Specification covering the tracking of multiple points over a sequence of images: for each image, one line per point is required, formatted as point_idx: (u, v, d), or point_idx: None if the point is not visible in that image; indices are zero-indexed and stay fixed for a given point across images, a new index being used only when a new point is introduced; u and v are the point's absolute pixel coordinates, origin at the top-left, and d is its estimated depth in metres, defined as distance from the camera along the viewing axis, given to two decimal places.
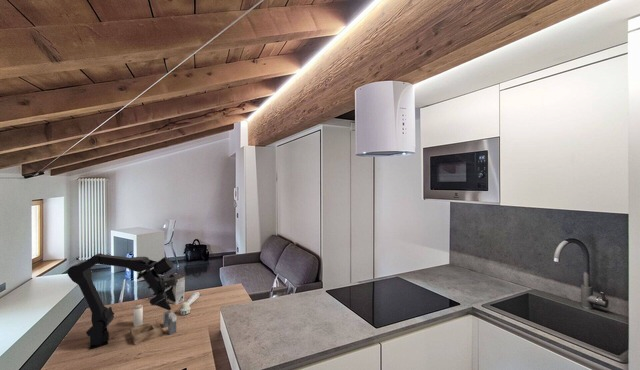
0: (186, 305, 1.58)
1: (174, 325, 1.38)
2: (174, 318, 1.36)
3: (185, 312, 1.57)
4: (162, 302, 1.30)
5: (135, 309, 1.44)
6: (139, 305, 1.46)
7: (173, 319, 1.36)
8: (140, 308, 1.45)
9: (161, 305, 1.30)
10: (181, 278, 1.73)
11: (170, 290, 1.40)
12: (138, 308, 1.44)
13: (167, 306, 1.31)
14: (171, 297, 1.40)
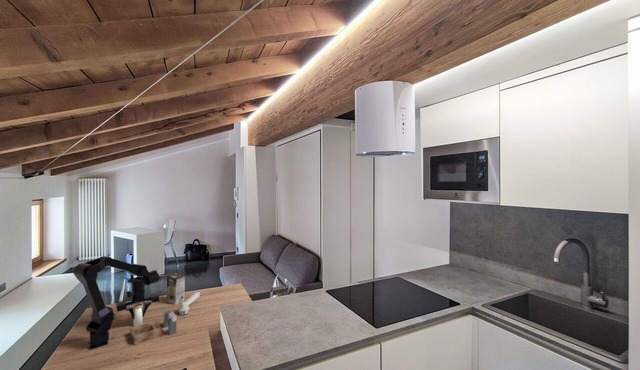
0: (185, 305, 1.58)
1: (174, 325, 1.38)
2: (174, 318, 1.36)
3: (183, 312, 1.57)
4: None
5: (135, 309, 1.44)
6: (139, 305, 1.46)
7: (173, 319, 1.36)
8: (140, 308, 1.45)
9: None
10: (181, 278, 1.73)
11: None
12: (138, 308, 1.44)
13: None
14: None
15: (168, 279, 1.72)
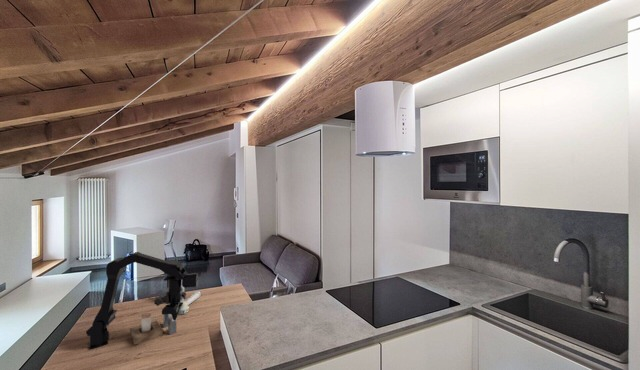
0: (184, 304, 1.59)
1: (174, 325, 1.38)
2: None
3: (183, 311, 1.58)
4: None
5: (143, 319, 1.35)
6: (147, 314, 1.37)
7: None
8: (148, 317, 1.36)
9: None
10: None
11: None
12: (146, 317, 1.35)
13: None
14: None
15: None
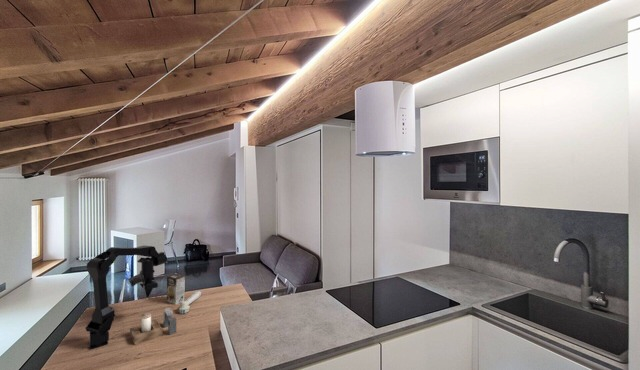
0: (185, 304, 1.59)
1: (174, 325, 1.38)
2: (170, 313, 1.41)
3: (183, 311, 1.58)
4: None
5: (143, 319, 1.35)
6: (147, 314, 1.37)
7: (169, 314, 1.41)
8: (148, 317, 1.36)
9: None
10: (181, 278, 1.73)
11: None
12: (146, 317, 1.35)
13: None
14: None
15: (168, 279, 1.72)
